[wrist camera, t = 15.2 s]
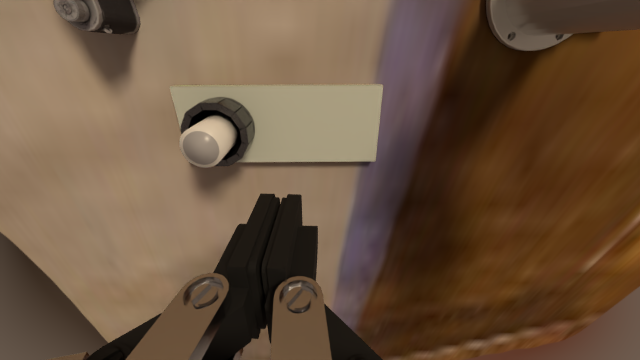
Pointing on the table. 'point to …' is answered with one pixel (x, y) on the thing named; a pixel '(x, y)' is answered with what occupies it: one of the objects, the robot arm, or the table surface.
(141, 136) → the table surface
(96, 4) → the camera
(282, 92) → the board
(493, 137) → the table surface
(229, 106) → the black faceted cup
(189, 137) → the cylinder
